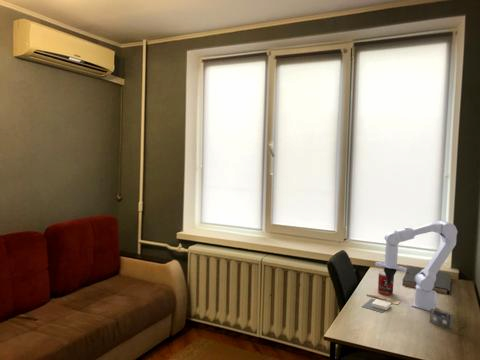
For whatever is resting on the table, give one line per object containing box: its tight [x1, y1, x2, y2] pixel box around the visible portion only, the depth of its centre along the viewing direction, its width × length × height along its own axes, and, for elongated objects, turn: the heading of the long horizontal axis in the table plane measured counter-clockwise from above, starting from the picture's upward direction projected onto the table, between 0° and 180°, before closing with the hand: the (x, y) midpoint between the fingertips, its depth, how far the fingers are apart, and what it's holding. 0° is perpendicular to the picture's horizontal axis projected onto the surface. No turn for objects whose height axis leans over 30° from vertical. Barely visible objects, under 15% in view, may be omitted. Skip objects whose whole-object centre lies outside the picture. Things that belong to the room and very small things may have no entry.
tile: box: [372, 298, 392, 311], centre depth 182 cm, size 2×7×7 cm
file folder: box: [401, 266, 452, 295], centre depth 222 cm, size 33×4×24 cm
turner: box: [366, 293, 401, 306], centre depth 192 cm, size 16×5×1 cm, turn 51°
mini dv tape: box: [429, 309, 453, 329], centre depth 164 cm, size 8×2×6 cm, turn 41°
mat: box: [361, 298, 386, 314], centre depth 183 cm, size 10×14×1 cm
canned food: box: [377, 270, 395, 296], centre depth 201 cm, size 8×8×11 cm
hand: (389, 283), depth 186 cm, fingers closed
